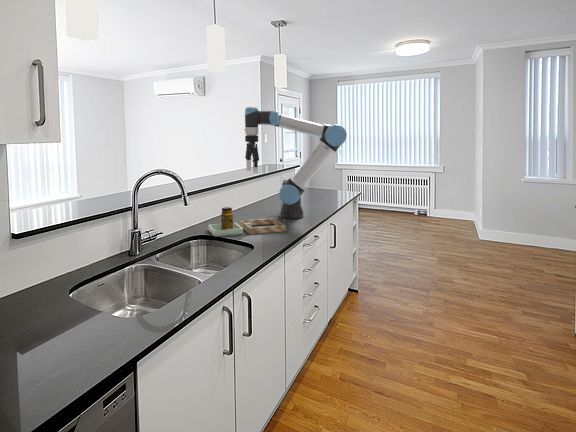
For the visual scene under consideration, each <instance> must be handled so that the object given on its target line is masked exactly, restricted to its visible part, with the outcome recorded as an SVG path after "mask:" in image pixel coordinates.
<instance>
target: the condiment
mask: <svg viewBox="0 0 576 432" xmlns="http://www.w3.org/2000/svg"><path fill="white" fill-rule="evenodd" d="M220 218H221V219H220V220H221V222H220V224H221V227H222V229H217V230H227V229H233V223H234V214H233V208H232V207H221V216H220Z"/></svg>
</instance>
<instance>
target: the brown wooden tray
mask: <svg viewBox="0 0 576 432" xmlns="http://www.w3.org/2000/svg"><path fill="white" fill-rule="evenodd" d="M249 222H250V223H252V226H256V227H250V226H248V225H247V224H246V223H249ZM260 225H261V226H260ZM262 225H270V226H262ZM271 225H272V226H271ZM275 225H278V226H275ZM239 226H241V227H242V228H243V230H245V231H246V232H247V233H248V234H249V235H253V234H265V233H278V232H286V231H287V224H284V223H283V222H281V221H279V220H278V219H276V218H274V217H272V218H257V219H256V218H255V219H246V220H244V219H243V220H240V221H239Z"/></svg>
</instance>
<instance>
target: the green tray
mask: <svg viewBox="0 0 576 432" xmlns="http://www.w3.org/2000/svg"><path fill="white" fill-rule="evenodd" d="M217 229H222V227H221V223H213V224H211V223H210V224H208V231H209V233H210V234H211V233H212V234H211V235H212V236H213V237H214V238H215V237H216V238H217V237H223V236H224V237H225V236H227V237H228V236H240V235H244V229H243V228H242V227H241V226H240V224H238V223H237V222H233V229H227V230H217Z"/></svg>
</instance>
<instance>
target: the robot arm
mask: <svg viewBox="0 0 576 432" xmlns="http://www.w3.org/2000/svg"><path fill="white" fill-rule="evenodd" d="M259 125H267V126H273V127H277V128H281V129H285V130H289V131H292V132H296V133H300V134H304V135H307V136H310V137H316V138H318V141H319V143H318V145H317V146H316V147H315V149H314V150H313V151H312V153H311V154H310V155H309V157H308V158H307V159H306V160H305V162H304V163H303V164H302V166H301V167H300V168H299V169H298V171H297V172H296V173H295V175H294V176H291V177H289V178H288V179H283V180H282V182H281V185H282V186H281V187H280V189H279V193H278V194H279V195H278V196H279V200H280V201H281V203H282V204H281V207H280V210H279V212H278V213H279V217H280V218H283V219H288V220H289V219H293V220H294V219H302V218H304V215H305V214H304V211H303V206H302V195H304V192H305V191H306V190H307V189H306V186H307V184H308V183H309V182H310V181H311V179H312V178H313V177H314V175H315V174H316V173H317V171H319V169H320V168H322V165H323V164H324V163H325V162H326V160H328V158H329V157H330V156H331V154H333V153H336V152H337V151H338V150H339V148H340V147H341V146H342V145H343V144H344V143H345V142H346V141H347V136H348V135H347V131H346V129H345V128H344V126H343V125H341V124H338V123H337V124H336V123H335V124H326V123H324V124H320V123H315V122H312V121H308V120H304V119H300V118H296V117H292V116H289V115H285V114H280V113H279V111H276V110H259V108H258V107H257V106H256V107H255V106H254V107H253V106H248V107H246V108H245V109H244V132H245V133H244V134H245V135H244V136H245V137H244V141H245V142H246V150H245V157H244V158H245V159H246V160H245V161H246V172H252V174H258V173H259V162H260V156H259V155H260V154H259V150H258V149H259V148H258V143H259Z"/></svg>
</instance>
